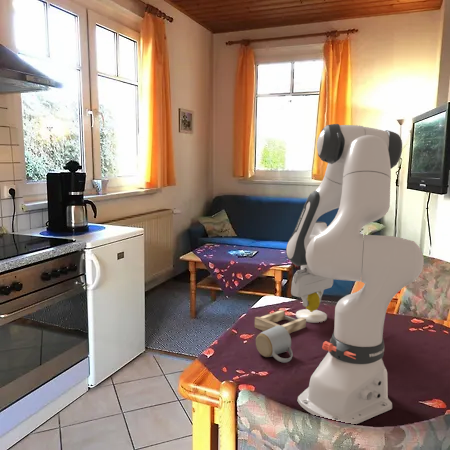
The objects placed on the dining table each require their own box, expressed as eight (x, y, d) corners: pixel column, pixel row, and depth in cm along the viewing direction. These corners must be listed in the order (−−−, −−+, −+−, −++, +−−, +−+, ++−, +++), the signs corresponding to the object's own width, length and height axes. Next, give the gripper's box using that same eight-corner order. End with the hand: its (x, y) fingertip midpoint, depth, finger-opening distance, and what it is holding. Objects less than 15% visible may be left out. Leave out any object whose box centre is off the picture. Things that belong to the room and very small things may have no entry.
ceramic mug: (253, 352, 124) (254, 328, 123) (273, 345, 129) (274, 321, 128) (279, 367, 116) (280, 341, 115) (299, 359, 121) (300, 333, 120)
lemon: (320, 314, 150) (321, 293, 148) (305, 314, 150) (305, 292, 148) (317, 309, 155) (318, 288, 154) (302, 309, 155) (303, 288, 154)
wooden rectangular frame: (279, 337, 135) (279, 327, 134) (254, 327, 143) (254, 317, 142) (307, 326, 144) (307, 316, 144) (282, 317, 152) (282, 308, 152)
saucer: (314, 325, 145) (314, 322, 145) (289, 316, 153) (289, 313, 153) (333, 317, 152) (333, 315, 152) (308, 309, 160) (308, 307, 160)
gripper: (301, 272, 141) (300, 312, 143) (337, 263, 154) (335, 300, 156) (287, 269, 145) (286, 307, 147) (322, 260, 159) (321, 296, 161)
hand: (311, 303), depth 152 cm, fingers closed on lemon, 5 cm apart
